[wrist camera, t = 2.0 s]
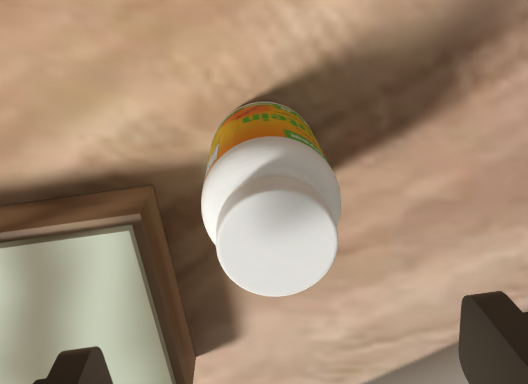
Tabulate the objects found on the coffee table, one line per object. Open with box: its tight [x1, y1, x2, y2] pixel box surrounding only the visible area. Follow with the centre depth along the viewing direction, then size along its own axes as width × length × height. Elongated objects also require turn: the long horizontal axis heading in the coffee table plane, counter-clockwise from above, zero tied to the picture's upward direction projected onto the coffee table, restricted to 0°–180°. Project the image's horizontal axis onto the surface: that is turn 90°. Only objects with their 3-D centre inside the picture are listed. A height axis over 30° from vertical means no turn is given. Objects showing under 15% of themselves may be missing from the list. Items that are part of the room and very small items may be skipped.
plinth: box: [0, 185, 196, 384], centre depth 24 cm, size 12×12×4 cm
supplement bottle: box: [201, 102, 341, 296], centre depth 19 cm, size 5×5×10 cm
